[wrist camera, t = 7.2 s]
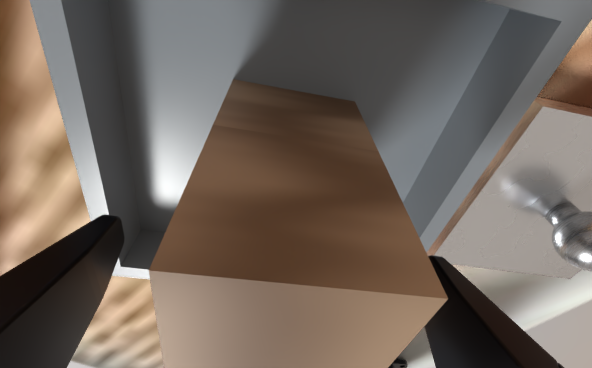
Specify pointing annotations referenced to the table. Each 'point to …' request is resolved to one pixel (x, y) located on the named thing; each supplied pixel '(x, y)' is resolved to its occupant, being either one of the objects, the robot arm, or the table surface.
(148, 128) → the tray
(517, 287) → the table surface
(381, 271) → the wooden block
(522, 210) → the stud plate
